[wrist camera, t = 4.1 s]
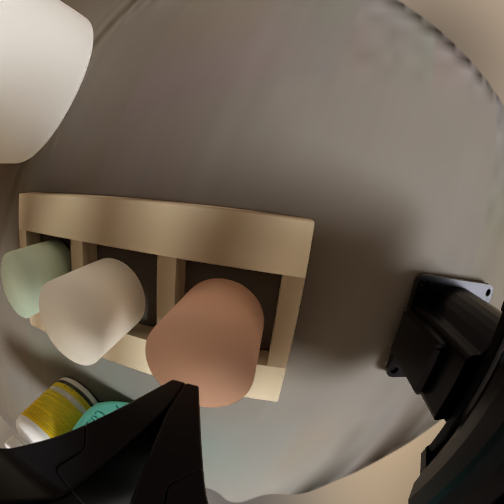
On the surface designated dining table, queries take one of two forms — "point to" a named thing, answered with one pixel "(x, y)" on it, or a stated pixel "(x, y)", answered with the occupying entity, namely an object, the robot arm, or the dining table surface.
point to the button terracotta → (209, 341)
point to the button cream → (91, 309)
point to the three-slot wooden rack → (181, 258)
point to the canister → (38, 71)
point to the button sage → (32, 273)
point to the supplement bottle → (52, 413)
